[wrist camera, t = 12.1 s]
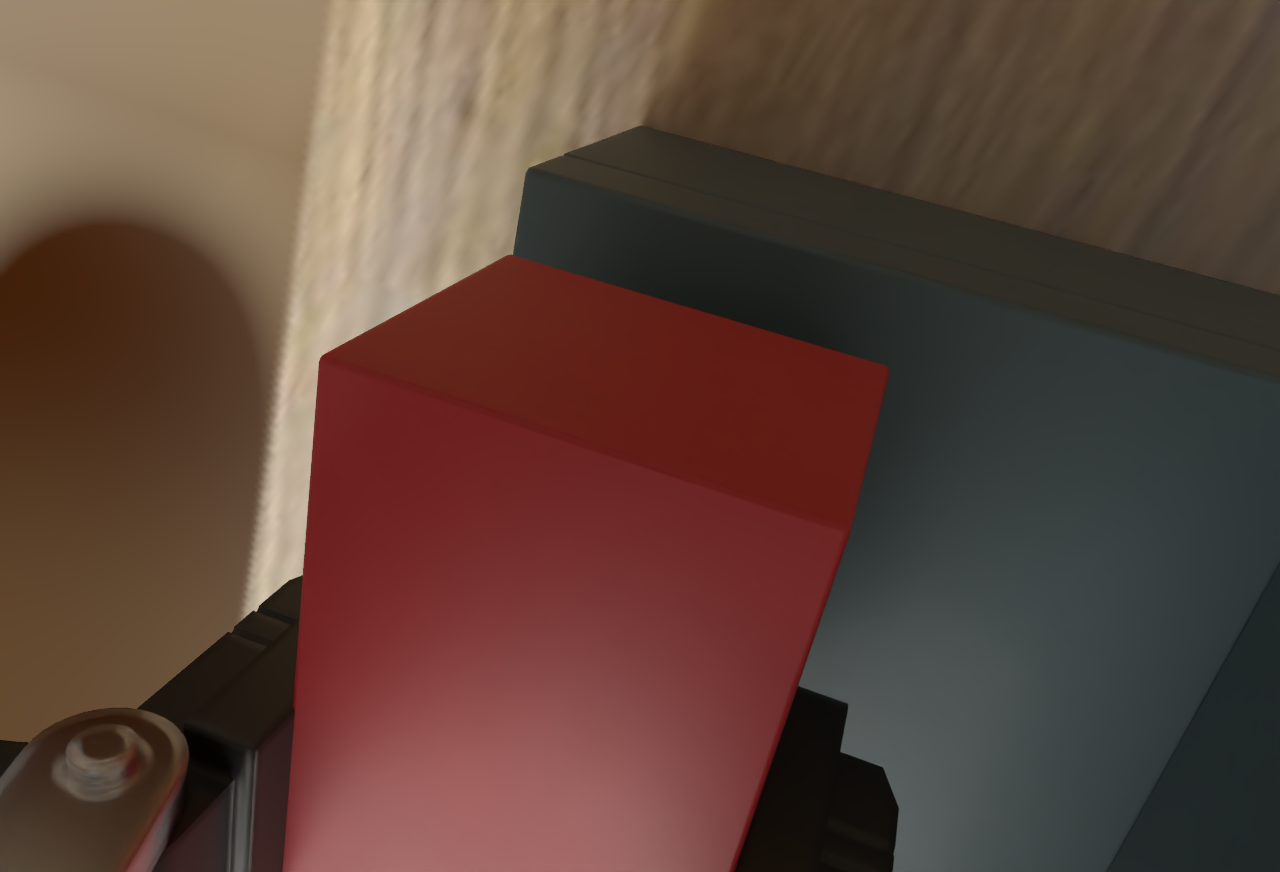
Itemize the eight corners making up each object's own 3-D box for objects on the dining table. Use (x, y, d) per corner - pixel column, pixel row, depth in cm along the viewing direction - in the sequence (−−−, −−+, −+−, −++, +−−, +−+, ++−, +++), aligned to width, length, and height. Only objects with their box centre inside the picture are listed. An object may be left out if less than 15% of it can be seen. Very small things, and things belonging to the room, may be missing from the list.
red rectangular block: (507, 253, 11) (316, 354, 8) (891, 365, 10) (851, 530, 7) (413, 871, 15) (260, 1105, 12) (684, 984, 14) (600, 1266, 11)
